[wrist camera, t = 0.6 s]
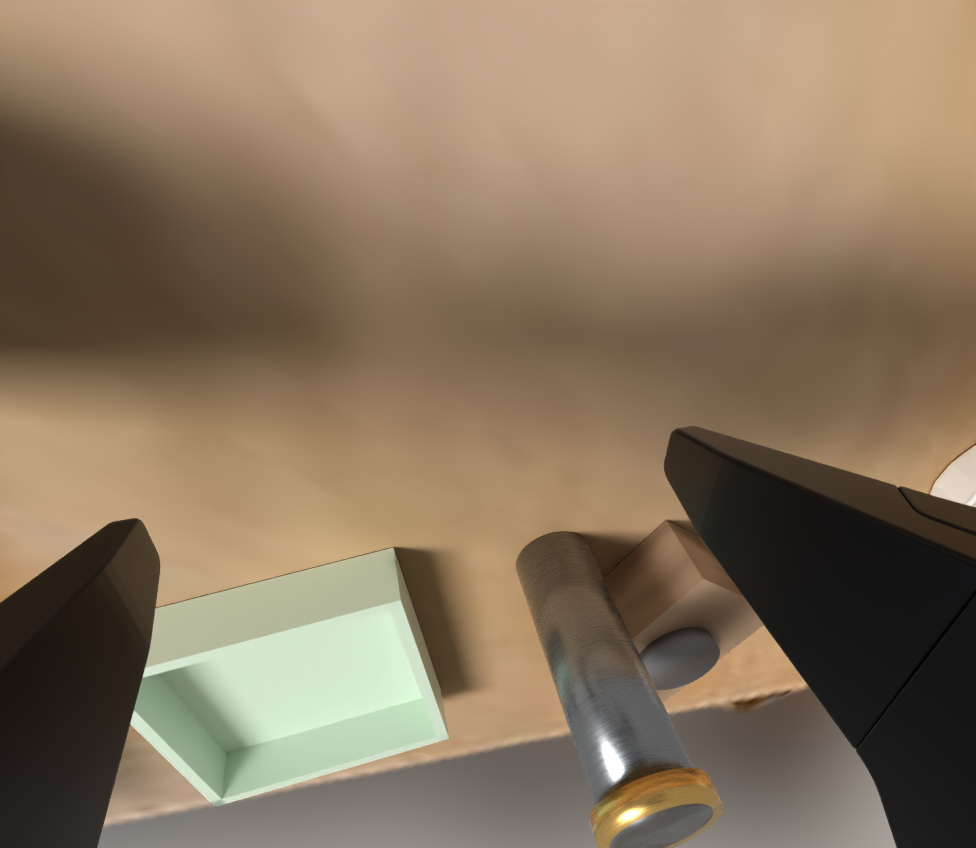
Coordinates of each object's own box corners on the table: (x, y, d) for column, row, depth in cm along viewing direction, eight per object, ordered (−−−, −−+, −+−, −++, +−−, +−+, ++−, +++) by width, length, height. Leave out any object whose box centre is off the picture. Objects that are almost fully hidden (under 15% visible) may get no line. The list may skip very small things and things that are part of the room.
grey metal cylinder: (513, 597, 33) (599, 872, 23) (503, 540, 30) (598, 825, 20) (596, 575, 34) (715, 834, 24) (594, 516, 31) (731, 783, 21)
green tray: (221, 750, 36) (214, 806, 33) (108, 620, 28) (88, 682, 25) (440, 688, 37) (449, 738, 35) (393, 547, 29) (400, 600, 27)
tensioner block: (547, 630, 36) (573, 707, 32) (666, 520, 32) (711, 592, 29) (624, 653, 40) (656, 725, 36) (739, 556, 36) (788, 624, 32)
